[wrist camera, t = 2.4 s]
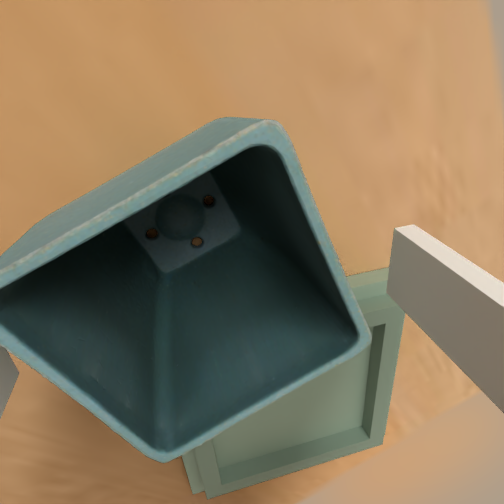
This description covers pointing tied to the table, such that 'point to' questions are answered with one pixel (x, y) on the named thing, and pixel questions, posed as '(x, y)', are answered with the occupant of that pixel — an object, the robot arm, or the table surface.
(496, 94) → the table surface
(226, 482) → the baseplate
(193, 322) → the flower pot
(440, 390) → the table surface
